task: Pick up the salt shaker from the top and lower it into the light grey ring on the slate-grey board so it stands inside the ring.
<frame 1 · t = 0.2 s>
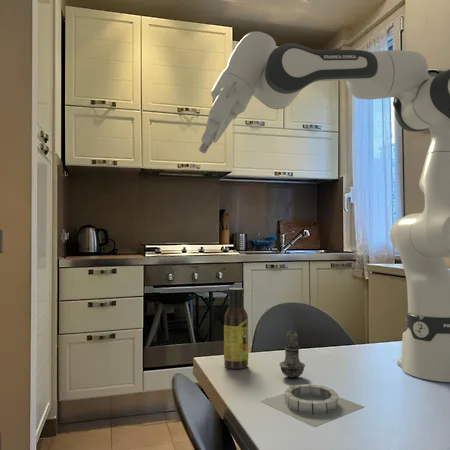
hand: (203, 147, 93), 54 cm above the table, tool tilted 30°, fingers open, 8 cm apart
sauce bottle: (236, 367, 104), on the table
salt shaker: (292, 381, 94), on the table
board: (311, 406, 79), on the table
ring: (311, 403, 79), resting on board
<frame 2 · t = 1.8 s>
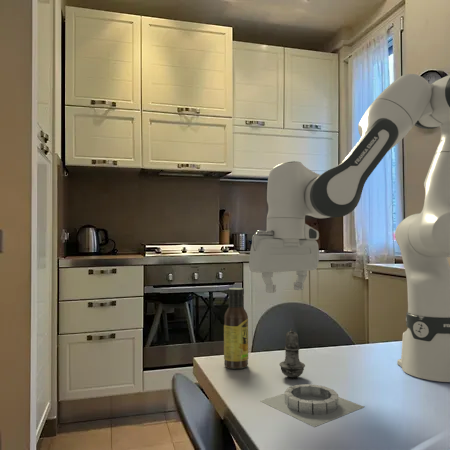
hand: (285, 291, 94), 20 cm above the table, tool pointing down, fingers open, 8 cm apart
nothing on the table moved.
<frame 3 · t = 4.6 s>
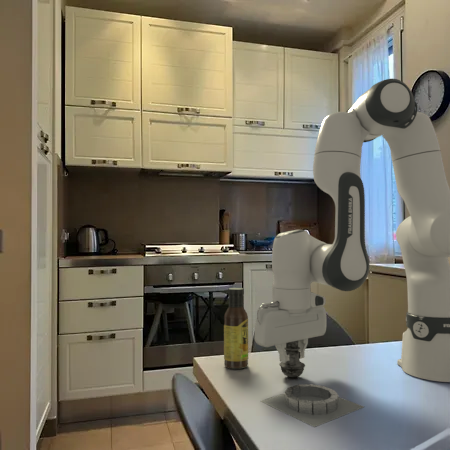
hand: (292, 360, 94), 5 cm above the table, tool pointing down, fingers closed on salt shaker, 3 cm apart
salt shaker: (292, 381, 94), on the table, touching gripper
everything else where it was.
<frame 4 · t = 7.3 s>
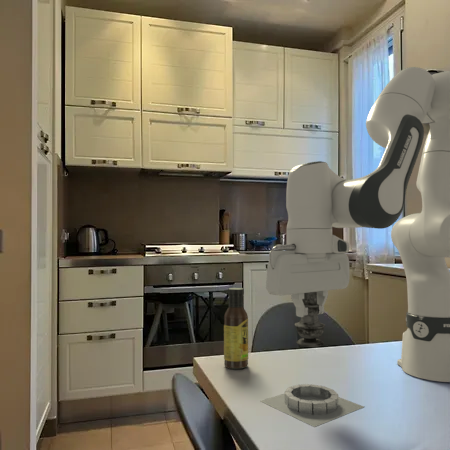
hand: (310, 315, 79), 18 cm above the table, tool pointing down, fingers closed on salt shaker, 3 cm apart
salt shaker: (310, 344, 79), point 12 cm above the table, touching gripper
everything else where it was.
when the fingers open (7 cm above the table, at t = 9.9 s): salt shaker stays where it is, resting on board.
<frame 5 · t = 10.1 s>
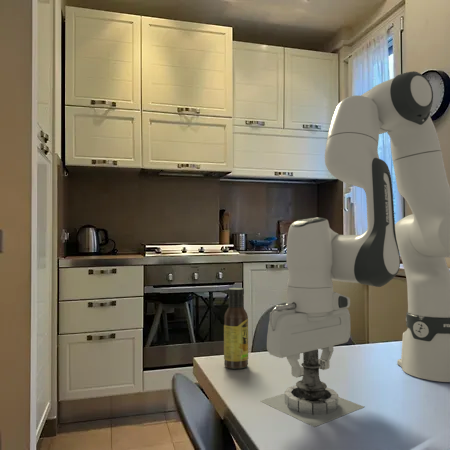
hand: (311, 372, 79), 7 cm above the table, tool pointing down, fingers open, 6 cm apart
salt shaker: (311, 404, 79), resting on board
everything else where it was.
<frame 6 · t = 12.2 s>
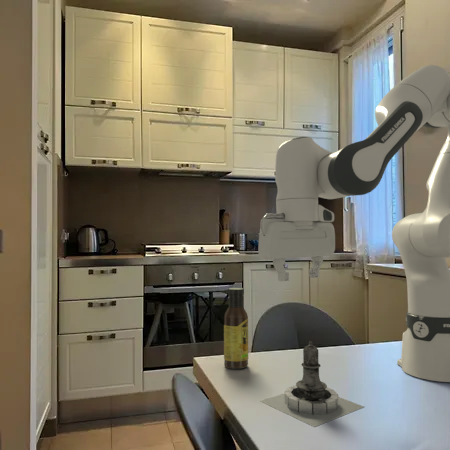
hand: (299, 279, 86), 24 cm above the table, tool pointing down, fingers open, 8 cm apart
nothing on the table moved.
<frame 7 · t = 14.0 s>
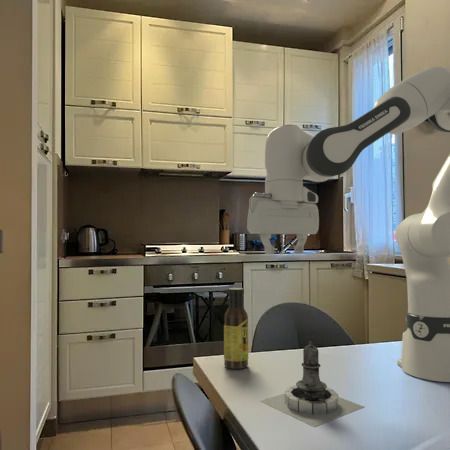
hand: (284, 253, 95), 29 cm above the table, tool pointing down, fingers open, 8 cm apart
nothing on the table moved.
at the end: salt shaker 0.2 cm from the ring (horizontally); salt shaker tilted 0°; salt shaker resting on board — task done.
